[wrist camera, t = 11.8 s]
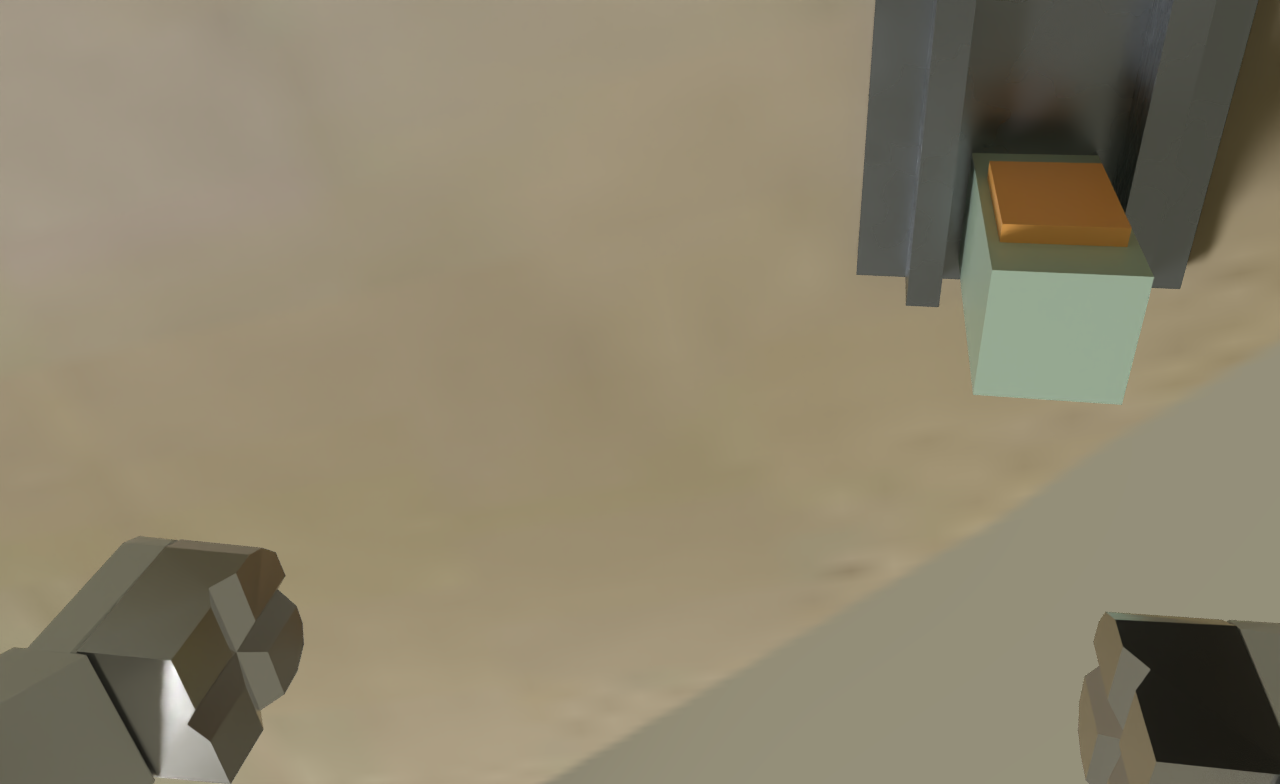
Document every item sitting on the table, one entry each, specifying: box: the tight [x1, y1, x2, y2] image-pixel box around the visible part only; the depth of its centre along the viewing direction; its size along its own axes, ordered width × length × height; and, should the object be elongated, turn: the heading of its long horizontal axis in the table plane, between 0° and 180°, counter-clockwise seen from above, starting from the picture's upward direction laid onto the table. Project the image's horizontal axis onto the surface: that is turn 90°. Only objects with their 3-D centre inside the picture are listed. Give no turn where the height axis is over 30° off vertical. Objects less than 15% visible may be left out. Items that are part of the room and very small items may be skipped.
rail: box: [856, 0, 1258, 307], centre depth 28 cm, size 10×15×3 cm, turn 3°
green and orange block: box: [958, 153, 1154, 405], centre depth 28 cm, size 4×4×8 cm
